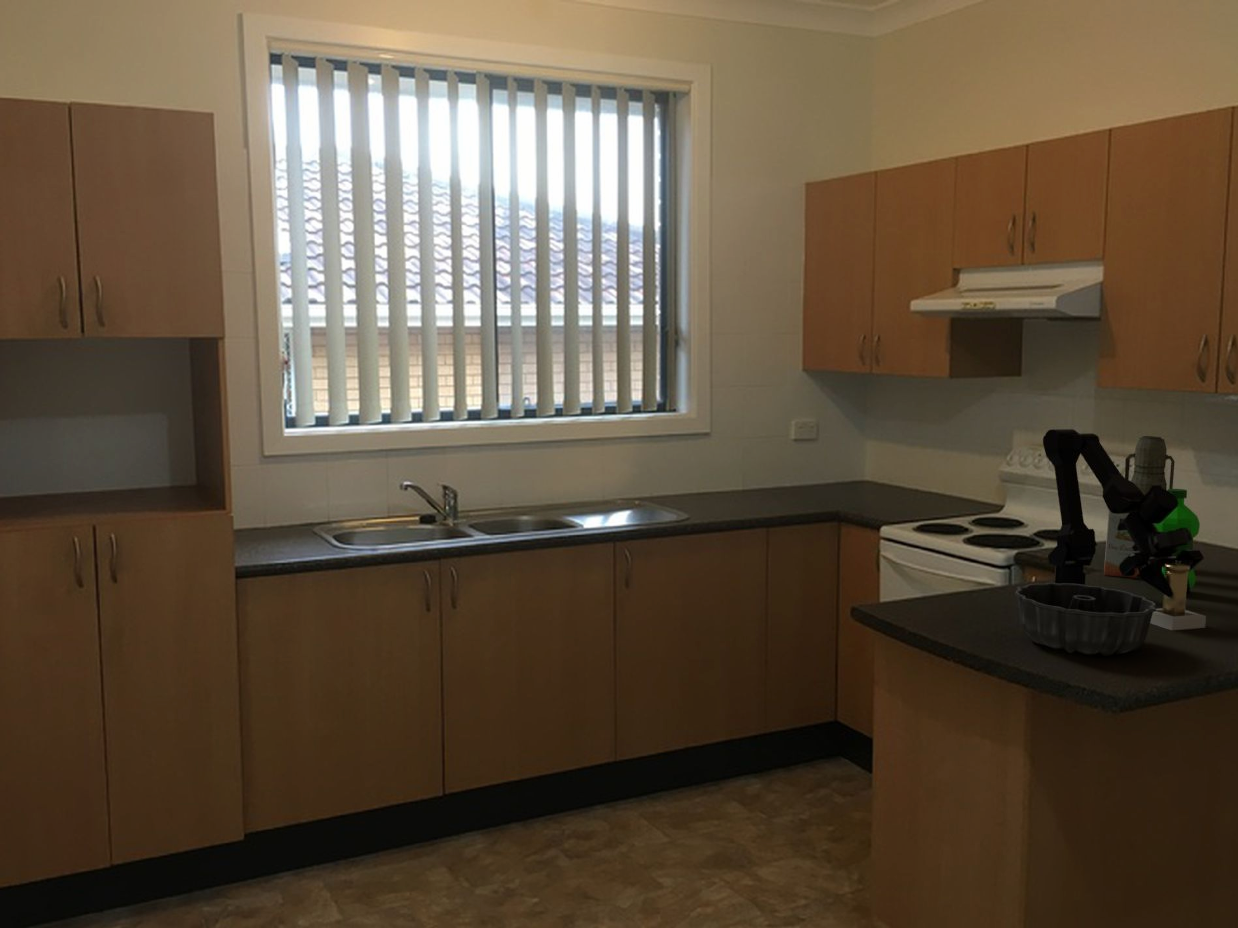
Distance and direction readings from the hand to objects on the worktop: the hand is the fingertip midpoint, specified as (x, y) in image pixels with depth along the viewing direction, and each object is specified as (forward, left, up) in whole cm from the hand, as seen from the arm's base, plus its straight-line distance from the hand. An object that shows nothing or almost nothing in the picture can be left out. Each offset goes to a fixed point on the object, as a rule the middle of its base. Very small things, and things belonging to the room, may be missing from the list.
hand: (1180, 595), depth 255 cm
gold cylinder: (-1, +1, -7) cm, 7 cm away
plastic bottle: (+2, +35, -7) cm, 36 cm away
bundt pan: (-20, -25, -7) cm, 33 cm away
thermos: (-3, +65, -7) cm, 65 cm away
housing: (-1, +1, -7) cm, 7 cm away
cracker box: (-6, +51, -7) cm, 52 cm away
